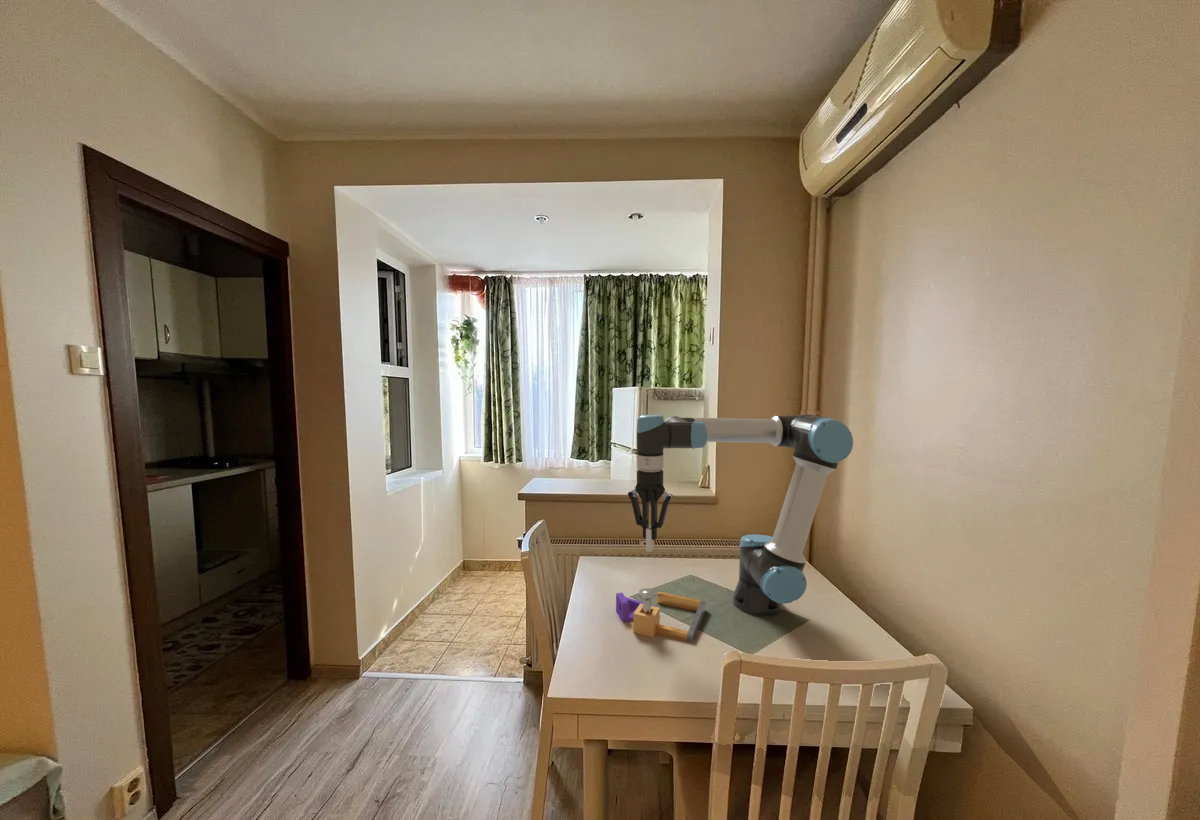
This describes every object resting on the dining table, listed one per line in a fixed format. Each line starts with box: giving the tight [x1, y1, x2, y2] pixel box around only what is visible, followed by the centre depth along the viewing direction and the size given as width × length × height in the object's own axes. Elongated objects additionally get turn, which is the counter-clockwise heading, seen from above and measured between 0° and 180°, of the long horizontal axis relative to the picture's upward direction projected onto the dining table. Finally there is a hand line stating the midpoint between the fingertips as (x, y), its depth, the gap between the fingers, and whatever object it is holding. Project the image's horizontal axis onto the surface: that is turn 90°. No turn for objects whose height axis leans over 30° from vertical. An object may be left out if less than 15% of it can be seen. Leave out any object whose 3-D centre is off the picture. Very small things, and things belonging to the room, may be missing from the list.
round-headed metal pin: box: [638, 587, 656, 615], centre depth 126 cm, size 4×4×9 cm
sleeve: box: [632, 604, 661, 638], centre depth 126 cm, size 6×6×7 cm
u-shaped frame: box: [655, 591, 707, 643], centre depth 132 cm, size 16×20×4 cm
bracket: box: [615, 592, 653, 623], centre depth 135 cm, size 12×7×7 cm, turn 105°
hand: (649, 549), depth 126 cm, fingers closed
